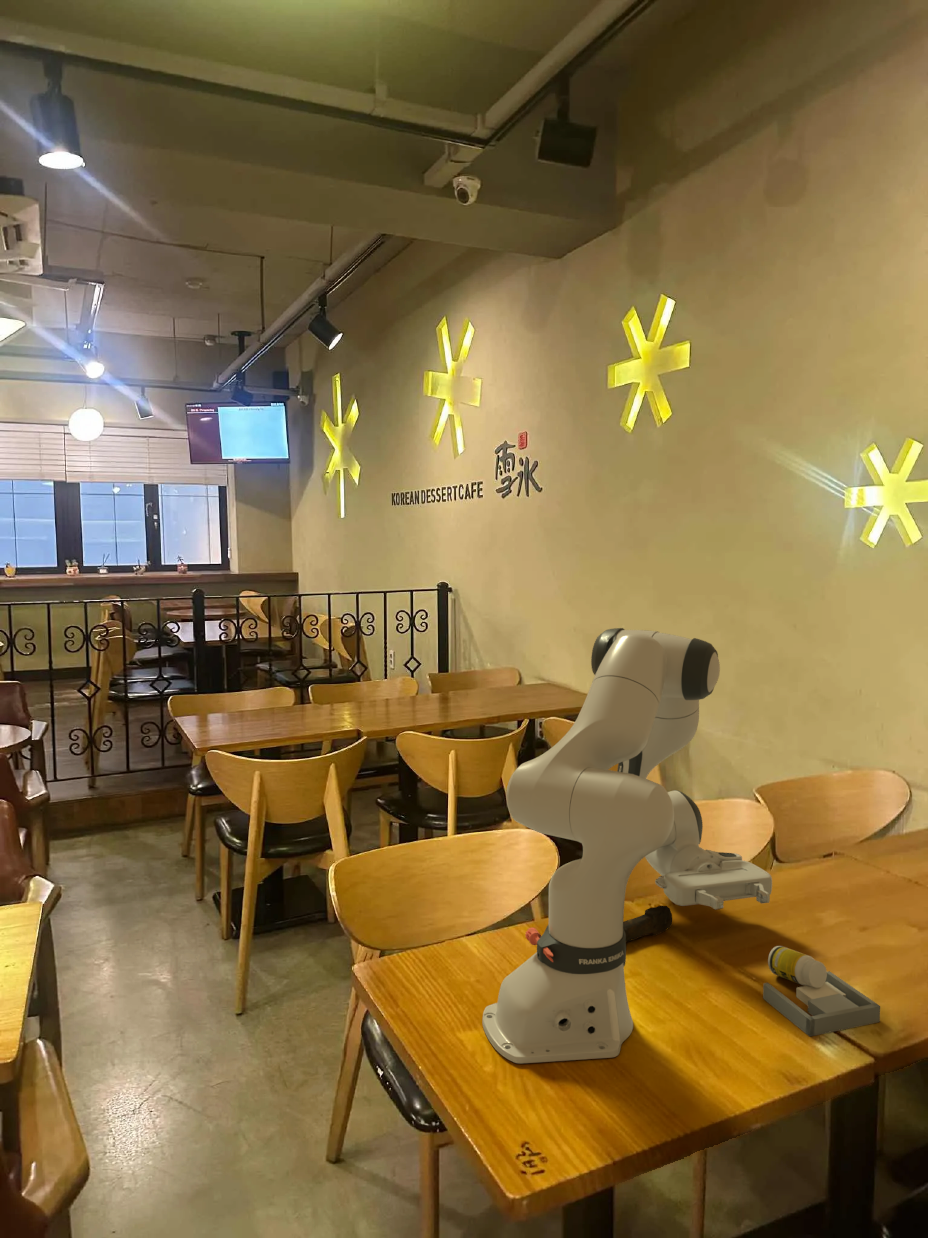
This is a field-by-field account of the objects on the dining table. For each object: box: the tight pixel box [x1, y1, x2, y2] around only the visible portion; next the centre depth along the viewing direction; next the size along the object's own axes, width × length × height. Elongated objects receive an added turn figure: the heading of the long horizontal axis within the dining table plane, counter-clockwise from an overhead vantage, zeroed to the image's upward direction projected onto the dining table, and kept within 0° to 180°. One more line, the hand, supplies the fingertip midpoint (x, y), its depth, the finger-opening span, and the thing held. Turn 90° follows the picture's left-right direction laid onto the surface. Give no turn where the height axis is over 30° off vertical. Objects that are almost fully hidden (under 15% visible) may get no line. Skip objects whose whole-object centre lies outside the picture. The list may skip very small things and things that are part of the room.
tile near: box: [807, 994, 859, 1016], centre depth 126 cm, size 6×4×2 cm, turn 108°
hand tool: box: [623, 905, 673, 943], centre depth 151 cm, size 19×4×5 cm, turn 119°
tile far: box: [795, 982, 846, 1006], centre depth 130 cm, size 6×4×2 cm, turn 108°
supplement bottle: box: [767, 945, 828, 988], centre depth 134 cm, size 5×5×8 cm
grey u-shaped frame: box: [762, 970, 881, 1037], centre depth 127 cm, size 13×11×2 cm
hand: (743, 902), depth 145 cm, fingers open, 8 cm apart
